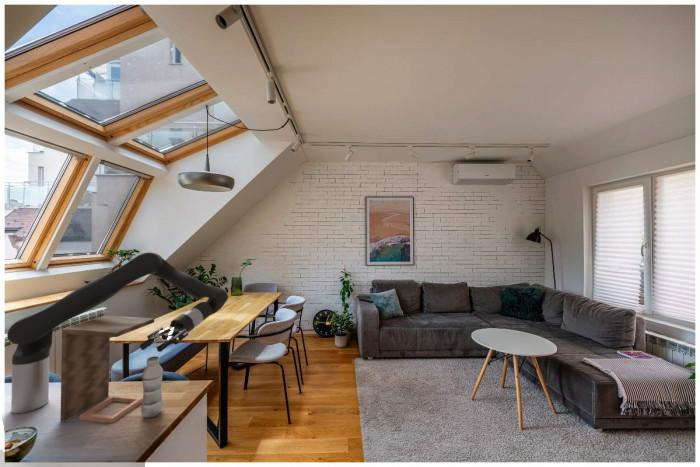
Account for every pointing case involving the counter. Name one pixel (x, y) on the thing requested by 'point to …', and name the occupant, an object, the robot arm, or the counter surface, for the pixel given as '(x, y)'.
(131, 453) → the counter surface
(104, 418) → the square wooden frame
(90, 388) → the bracket shelf
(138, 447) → the counter surface
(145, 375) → the plastic bottle
